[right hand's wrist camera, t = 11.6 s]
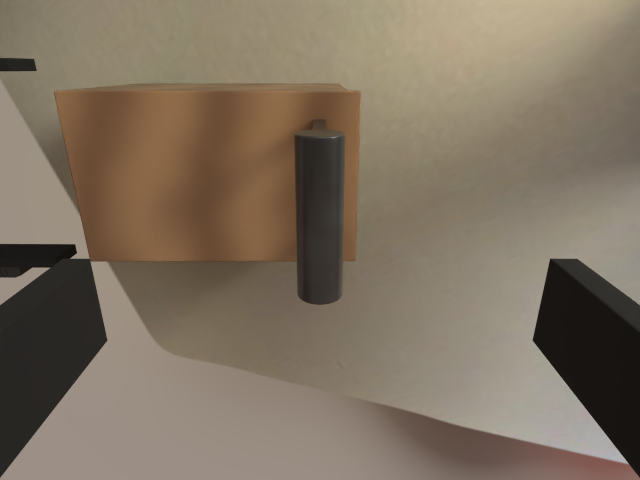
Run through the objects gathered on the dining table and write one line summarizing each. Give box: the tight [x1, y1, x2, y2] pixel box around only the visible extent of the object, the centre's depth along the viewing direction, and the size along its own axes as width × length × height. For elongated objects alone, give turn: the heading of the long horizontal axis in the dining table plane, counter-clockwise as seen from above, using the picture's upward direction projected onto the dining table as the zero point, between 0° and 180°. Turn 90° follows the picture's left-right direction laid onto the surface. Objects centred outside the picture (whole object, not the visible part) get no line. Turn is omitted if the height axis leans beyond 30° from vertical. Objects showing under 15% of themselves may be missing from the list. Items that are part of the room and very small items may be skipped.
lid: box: [54, 90, 361, 305], centre depth 22 cm, size 17×10×9 cm, turn 90°
